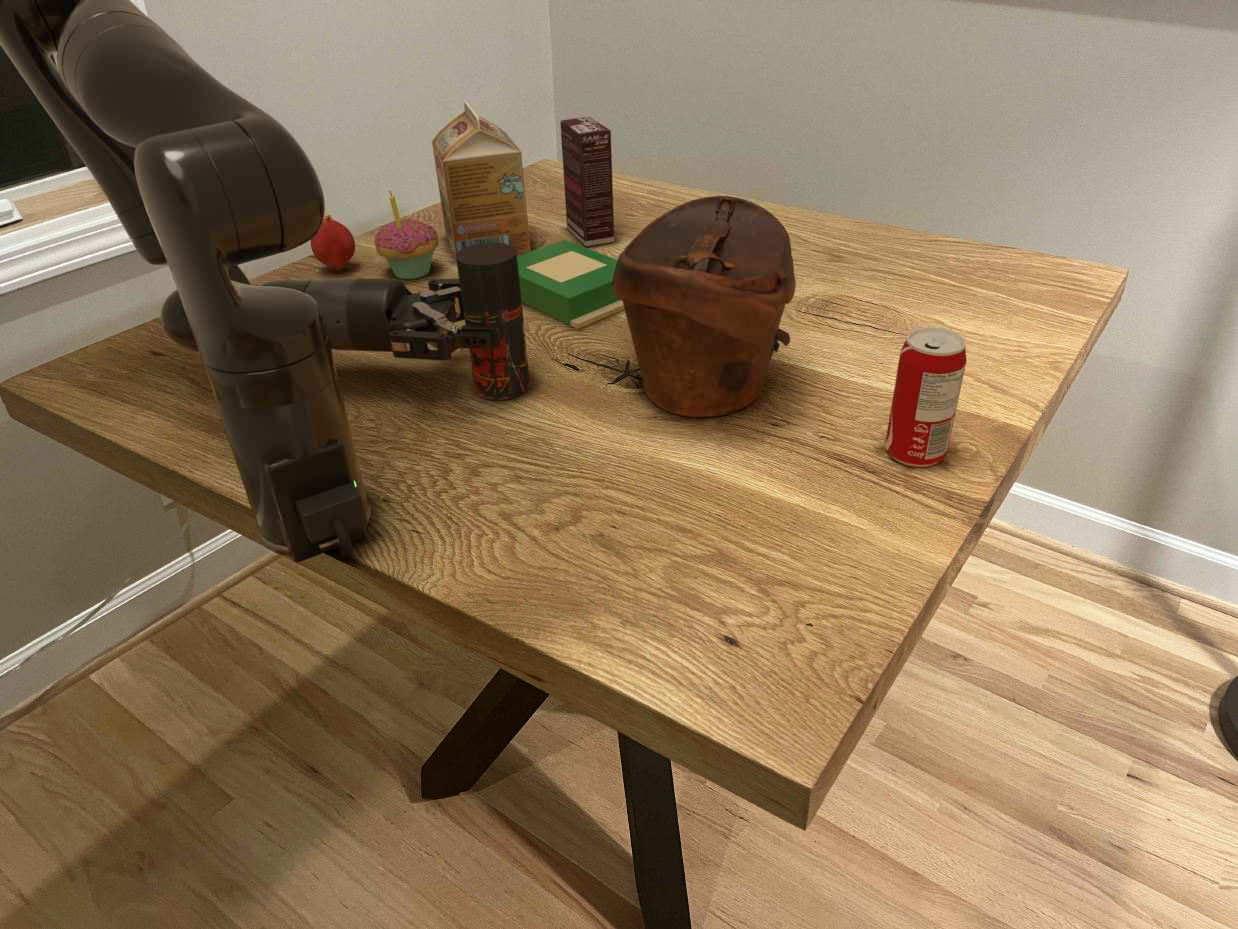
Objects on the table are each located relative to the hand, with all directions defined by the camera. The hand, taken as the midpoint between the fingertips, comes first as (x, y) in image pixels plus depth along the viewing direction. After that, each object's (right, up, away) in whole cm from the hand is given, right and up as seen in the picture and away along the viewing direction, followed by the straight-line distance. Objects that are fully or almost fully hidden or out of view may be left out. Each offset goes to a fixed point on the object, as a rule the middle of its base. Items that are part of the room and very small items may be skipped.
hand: (509, 318), depth 92 cm
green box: (+5, +7, +24) cm, 26 cm away
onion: (-28, +12, +33) cm, 45 cm away
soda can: (+39, -14, -8) cm, 42 cm away
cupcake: (-17, +11, +32) cm, 38 cm away
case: (+20, -7, +3) cm, 21 cm away
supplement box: (+7, +19, +41) cm, 46 cm away
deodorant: (-1, -7, +5) cm, 8 cm away
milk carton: (-8, +17, +40) cm, 44 cm away
